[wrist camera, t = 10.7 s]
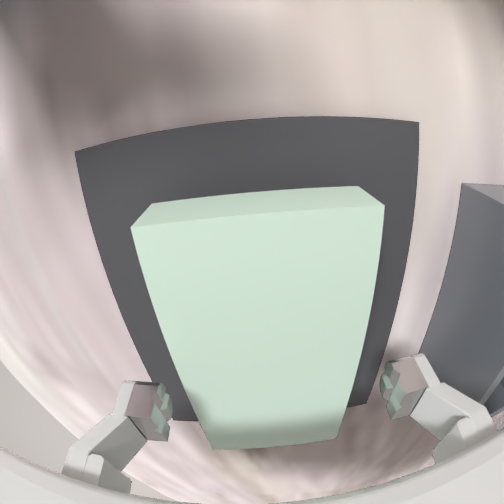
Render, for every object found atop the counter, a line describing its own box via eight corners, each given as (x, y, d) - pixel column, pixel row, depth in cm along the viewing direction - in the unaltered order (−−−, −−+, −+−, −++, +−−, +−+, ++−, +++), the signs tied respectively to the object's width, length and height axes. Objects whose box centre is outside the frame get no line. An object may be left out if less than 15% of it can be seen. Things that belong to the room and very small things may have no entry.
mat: (413, 121, 9) (419, 122, 9) (364, 398, 17) (366, 403, 16) (79, 150, 9) (74, 151, 9) (174, 415, 17) (173, 420, 17)
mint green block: (345, 177, 10) (384, 205, 7) (325, 394, 16) (335, 438, 13) (161, 193, 10) (130, 227, 7) (215, 404, 16) (213, 449, 13)
